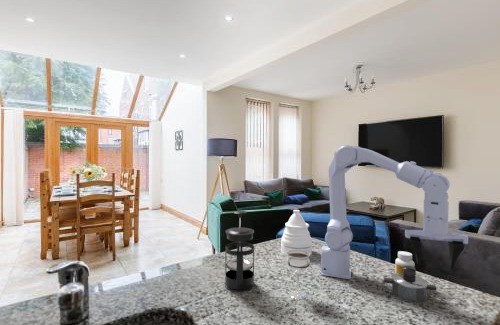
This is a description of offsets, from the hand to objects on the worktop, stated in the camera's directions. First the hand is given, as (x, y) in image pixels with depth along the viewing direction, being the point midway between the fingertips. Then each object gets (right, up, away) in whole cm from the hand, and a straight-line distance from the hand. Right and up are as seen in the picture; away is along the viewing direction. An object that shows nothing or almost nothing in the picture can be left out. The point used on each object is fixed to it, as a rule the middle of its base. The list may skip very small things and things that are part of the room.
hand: (434, 265), depth 77 cm
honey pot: (-32, -9, +40) cm, 52 cm away
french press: (-55, -10, +9) cm, 56 cm away
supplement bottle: (-2, -10, +11) cm, 15 cm away
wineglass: (-38, -10, +3) cm, 39 cm away
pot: (-5, -10, +3) cm, 12 cm away
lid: (-5, -6, +3) cm, 8 cm away
